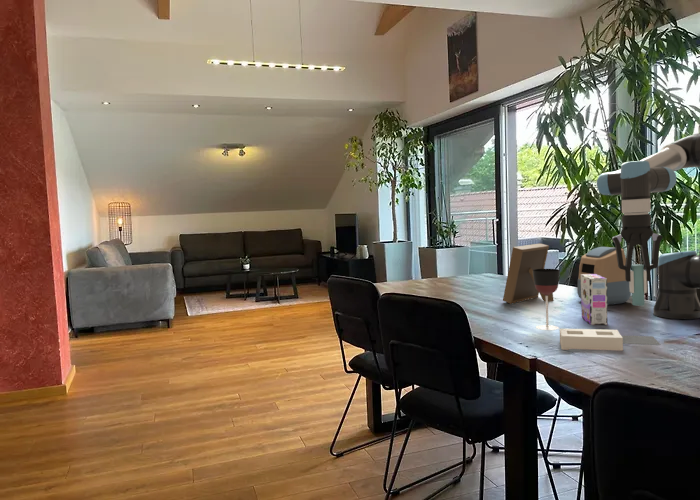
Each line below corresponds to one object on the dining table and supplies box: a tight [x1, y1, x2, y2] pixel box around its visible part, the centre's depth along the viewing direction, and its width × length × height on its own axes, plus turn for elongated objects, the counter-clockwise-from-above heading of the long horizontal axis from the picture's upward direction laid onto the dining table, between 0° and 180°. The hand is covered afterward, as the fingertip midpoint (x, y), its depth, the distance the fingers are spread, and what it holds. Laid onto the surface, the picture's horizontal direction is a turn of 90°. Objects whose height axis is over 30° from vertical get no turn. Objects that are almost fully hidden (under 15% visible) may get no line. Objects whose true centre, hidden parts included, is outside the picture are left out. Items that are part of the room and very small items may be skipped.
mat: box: [621, 335, 661, 346], centre depth 157 cm, size 10×10×1 cm
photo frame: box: [502, 243, 554, 305], centre depth 231 cm, size 15×22×25 cm
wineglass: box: [533, 268, 560, 331], centre depth 180 cm, size 8×9×20 cm
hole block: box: [559, 328, 624, 351], centre depth 154 cm, size 16×10×4 cm, turn 71°
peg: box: [631, 263, 645, 307], centre depth 156 cm, size 3×3×12 cm
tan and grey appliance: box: [576, 246, 632, 306], centre depth 221 cm, size 17×17×23 cm
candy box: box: [580, 274, 609, 326], centre depth 186 cm, size 14×6×16 cm, turn 168°
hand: (638, 291), depth 156 cm, fingers closed on peg, 3 cm apart
